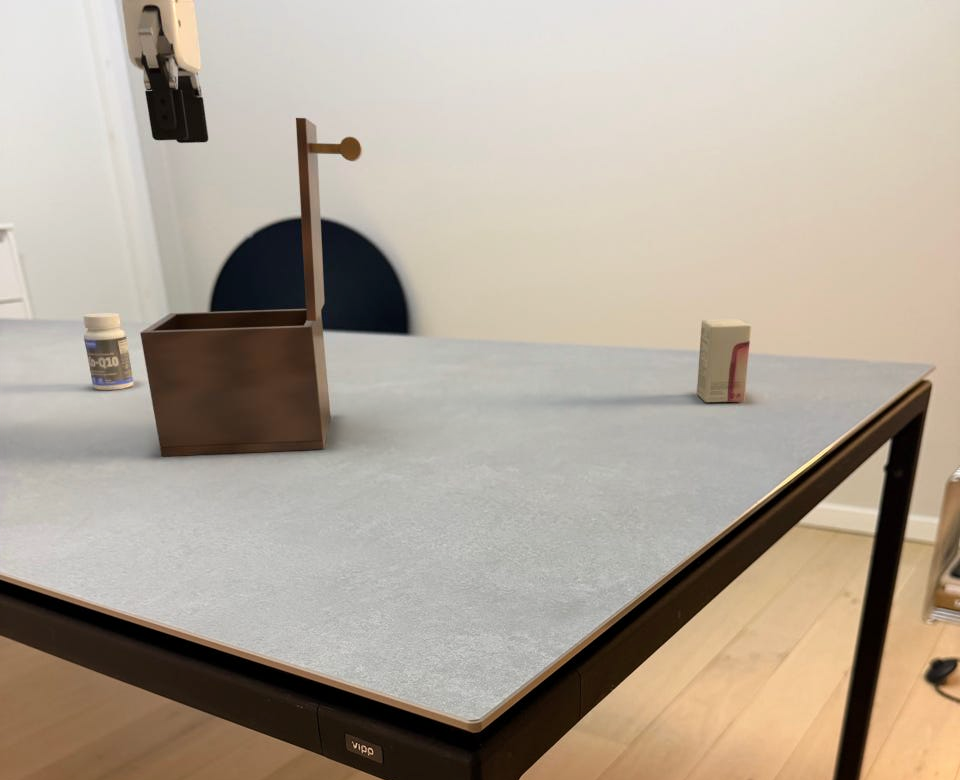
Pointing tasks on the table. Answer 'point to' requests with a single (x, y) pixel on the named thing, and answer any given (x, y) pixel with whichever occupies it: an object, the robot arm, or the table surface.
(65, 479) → the table surface
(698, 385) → the small box
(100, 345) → the pill bottle
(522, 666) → the table surface
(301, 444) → the chest
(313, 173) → the lid
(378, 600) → the table surface
